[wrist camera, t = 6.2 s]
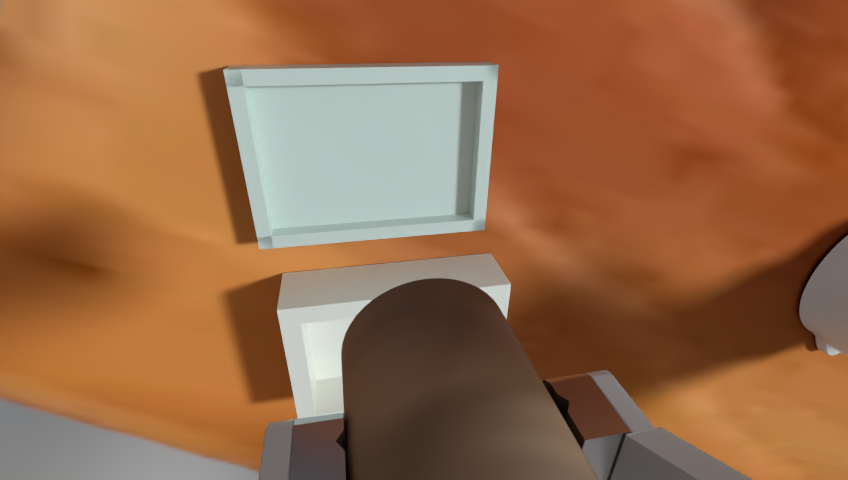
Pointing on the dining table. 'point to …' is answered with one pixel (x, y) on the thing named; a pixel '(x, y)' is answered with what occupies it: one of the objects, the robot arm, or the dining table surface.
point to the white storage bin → (338, 306)
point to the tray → (363, 148)
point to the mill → (448, 393)
